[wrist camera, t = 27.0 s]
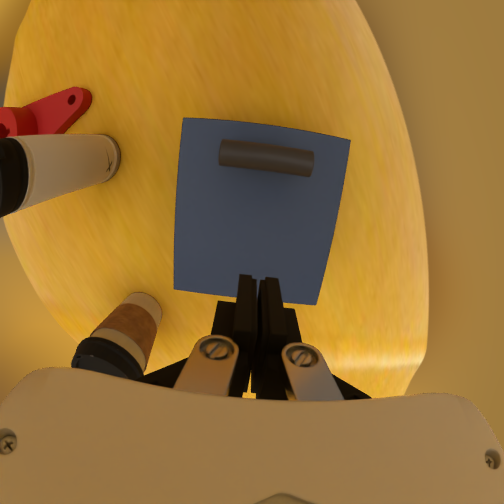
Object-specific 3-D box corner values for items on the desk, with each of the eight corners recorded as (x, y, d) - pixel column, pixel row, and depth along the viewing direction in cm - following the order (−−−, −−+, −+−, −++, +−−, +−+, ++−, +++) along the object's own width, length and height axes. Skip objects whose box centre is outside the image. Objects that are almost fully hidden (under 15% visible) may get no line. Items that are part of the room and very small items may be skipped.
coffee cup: (148, 274, 36) (98, 342, 22) (181, 323, 38) (153, 402, 24) (107, 296, 37) (55, 360, 23) (139, 339, 40) (103, 411, 26)
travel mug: (132, 159, 31) (11, 182, 12) (97, 192, 32) (-18, 241, 13) (106, 122, 29) (-16, 118, 10) (74, 157, 30) (-45, 181, 11)
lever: (16, 178, 31) (-12, 186, 24) (6, 127, 27) (-22, 128, 21) (98, 126, 29) (69, 124, 23) (86, 67, 26) (58, 57, 20)
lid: (185, 118, 21) (164, 111, 16) (347, 140, 21) (374, 140, 16) (175, 285, 26) (159, 318, 21) (314, 301, 27) (326, 336, 22)
